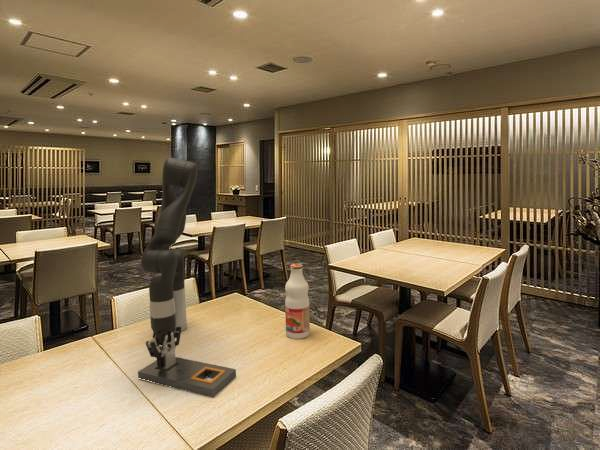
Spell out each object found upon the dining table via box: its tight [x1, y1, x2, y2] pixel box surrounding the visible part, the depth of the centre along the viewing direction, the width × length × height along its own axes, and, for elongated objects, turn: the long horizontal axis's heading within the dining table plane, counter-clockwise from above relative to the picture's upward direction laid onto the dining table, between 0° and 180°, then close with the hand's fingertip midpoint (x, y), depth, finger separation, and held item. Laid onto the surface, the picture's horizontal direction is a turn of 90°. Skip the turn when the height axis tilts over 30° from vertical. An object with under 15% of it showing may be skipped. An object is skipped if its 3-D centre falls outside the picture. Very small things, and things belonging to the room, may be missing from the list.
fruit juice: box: [284, 263, 311, 340], centre depth 149 cm, size 9×9×28 cm
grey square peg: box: [157, 345, 176, 371], centre depth 122 cm, size 4×4×8 cm
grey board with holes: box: [137, 356, 237, 398], centre depth 120 cm, size 28×12×3 cm, turn 68°
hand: (166, 363), depth 122 cm, fingers closed on grey square peg, 4 cm apart
